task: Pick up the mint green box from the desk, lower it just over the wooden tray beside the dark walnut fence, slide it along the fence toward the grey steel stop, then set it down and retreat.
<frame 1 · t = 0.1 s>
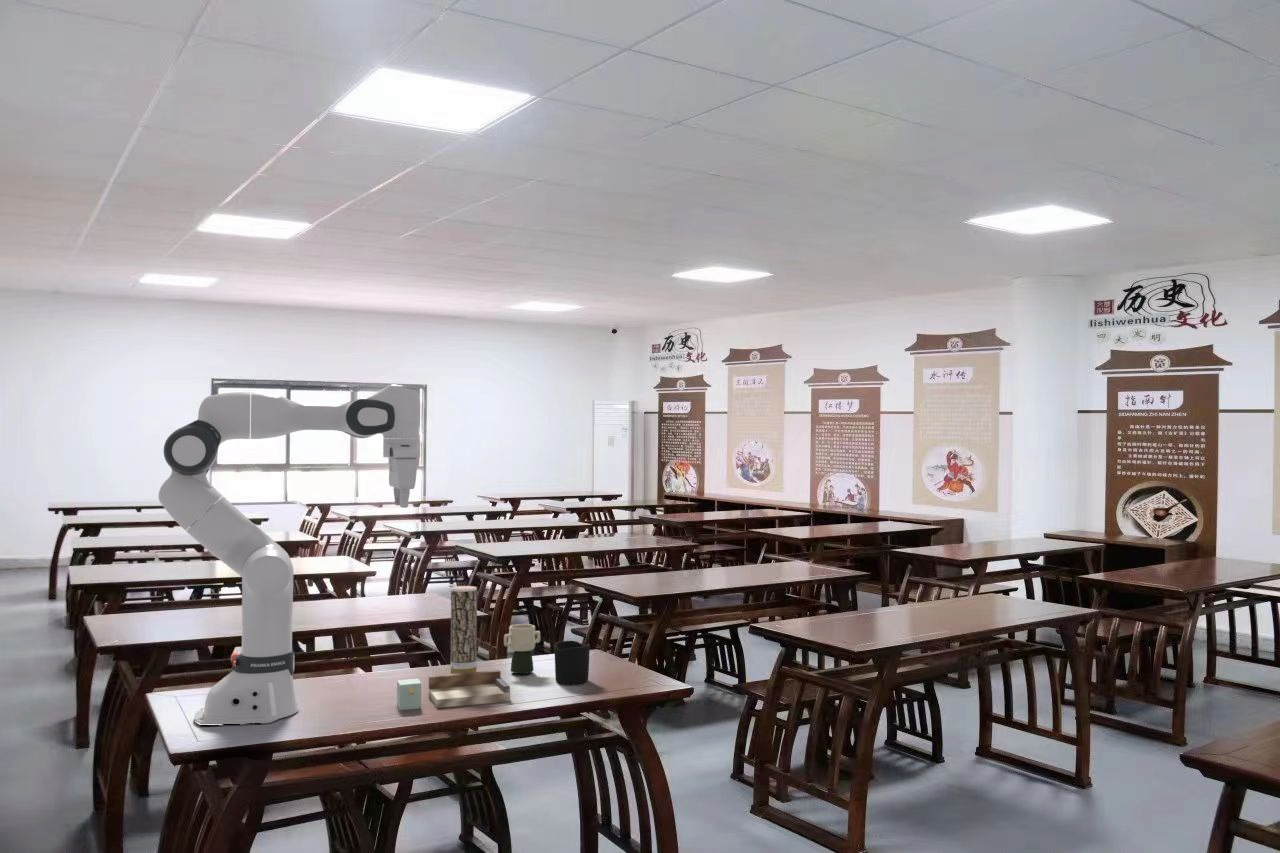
hand: (401, 506, 239), 48 cm above the table, fingers open, 8 cm apart
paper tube: (463, 682, 257), on the table
pen holder: (571, 682, 258), on the table
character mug: (522, 674, 267), on the table
mint green box: (408, 706, 233), on the table
wooden tray: (469, 698, 240), on the table
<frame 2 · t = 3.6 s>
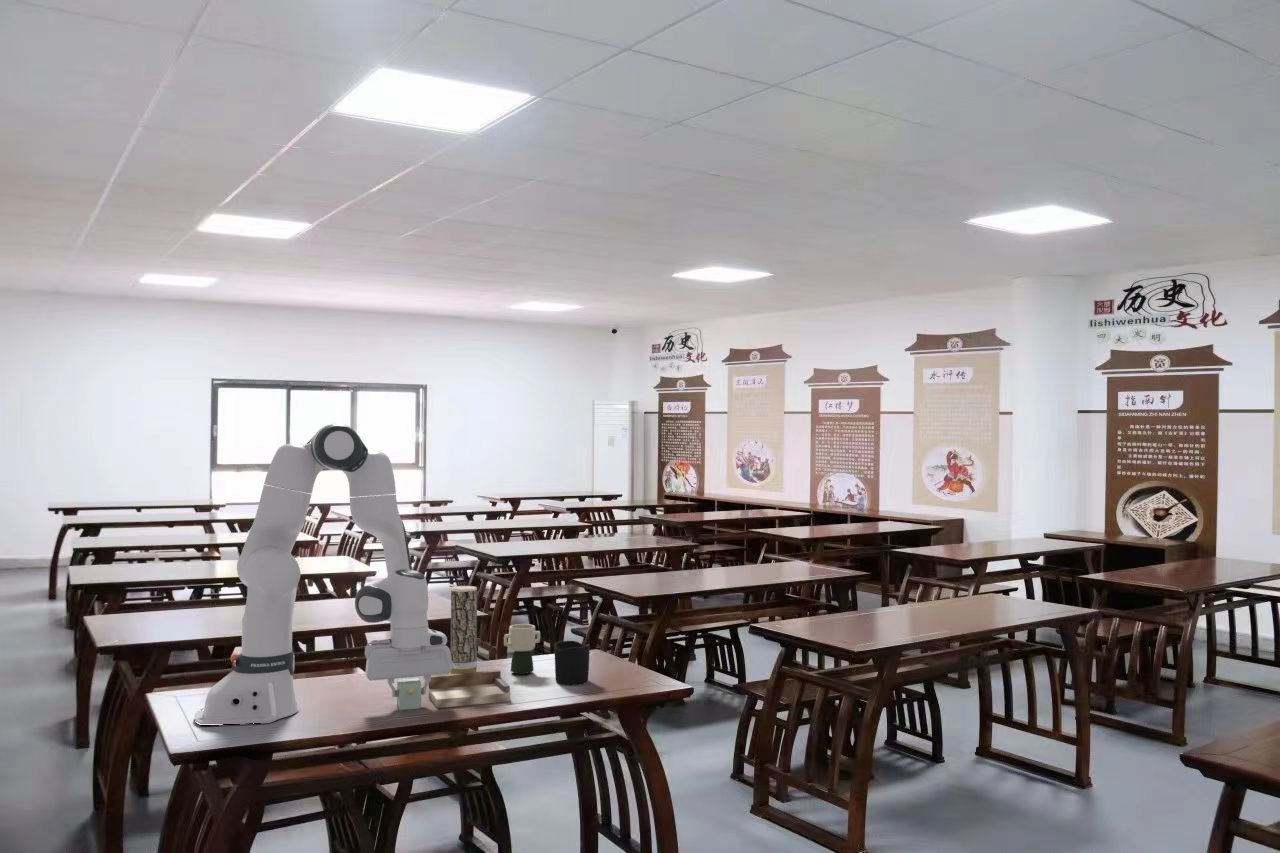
hand: (409, 695, 233), 3 cm above the table, fingers closed on mint green box, 5 cm apart
mint green box: (408, 706, 233), on the table, touching gripper
everything else where it was.
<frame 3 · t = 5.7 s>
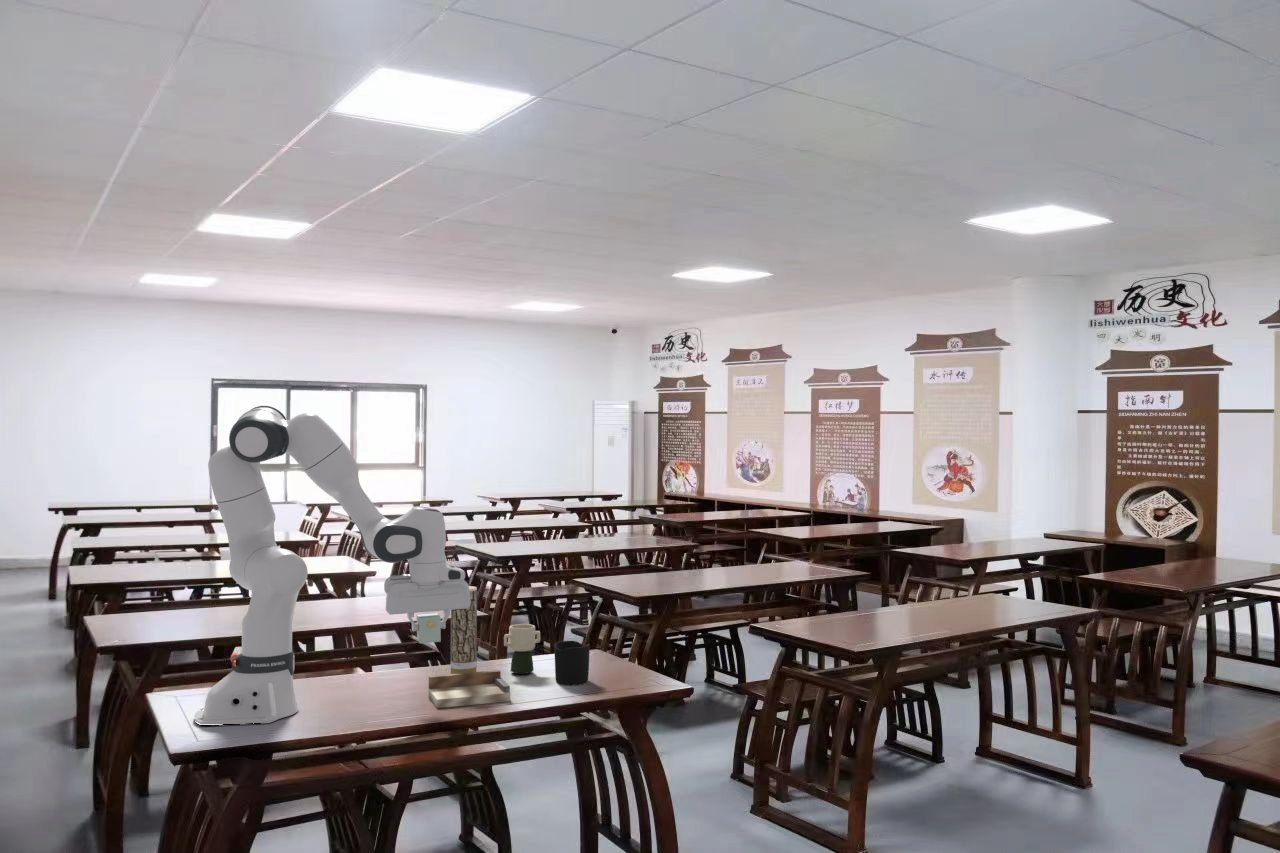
hand: (428, 629, 236), 18 cm above the table, fingers closed on mint green box, 5 cm apart
mint green box: (428, 640, 236), point 15 cm above the table, touching gripper
everything else where it was.
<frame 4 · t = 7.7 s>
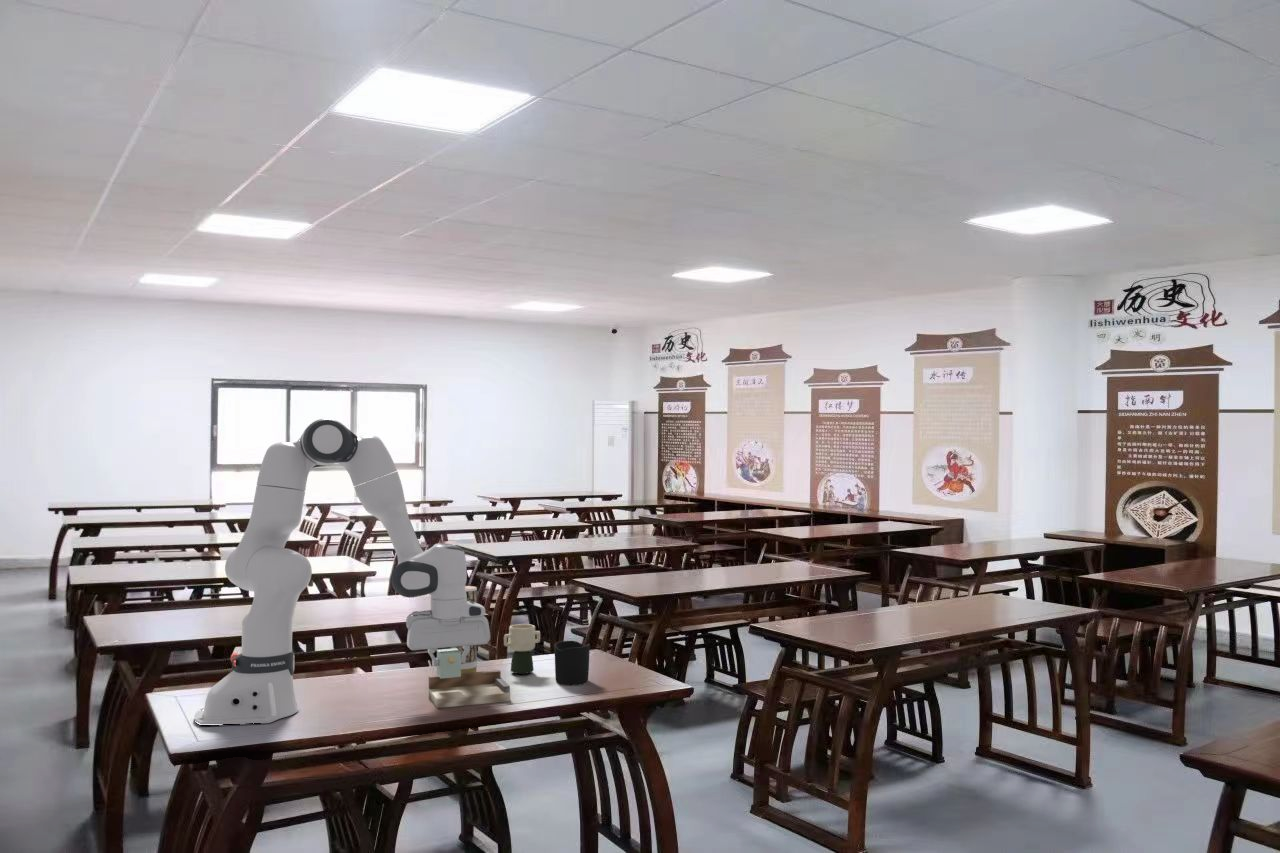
hand: (448, 664, 240), 8 cm above the table, fingers closed on mint green box, 5 cm apart
mint green box: (448, 675, 240), point 6 cm above the table, touching gripper
everything else where it was.
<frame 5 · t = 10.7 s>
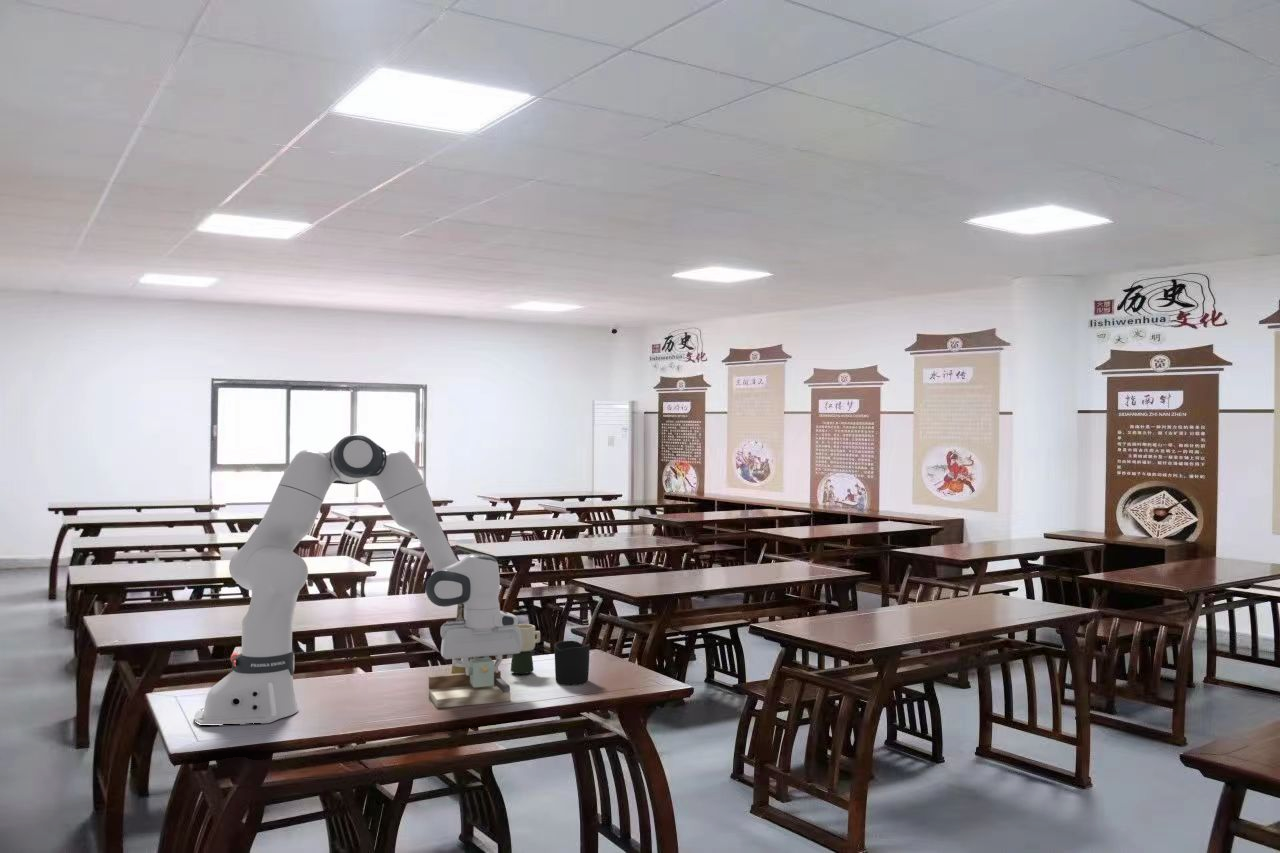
hand: (481, 673, 243), 6 cm above the table, fingers closed on mint green box, 5 cm apart
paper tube: (463, 681, 257), on the table, touching arm
mint green box: (481, 684, 243), point 3 cm above the table, touching gripper
everything else where it was.
when the fingers open (5 cm above the table, at t = 11.9 s): mint green box stays where it is, resting on wooden tray.
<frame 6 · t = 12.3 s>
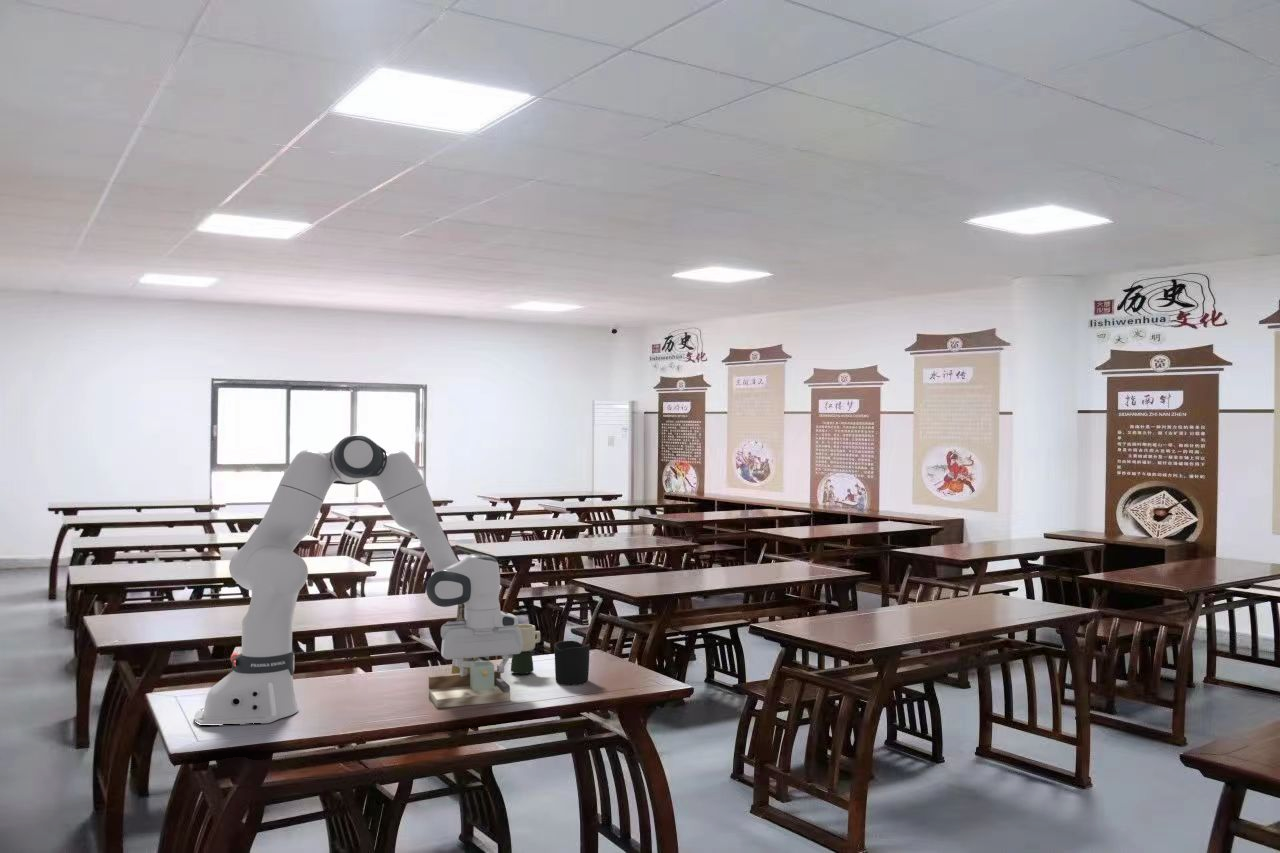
hand: (482, 674, 243), 5 cm above the table, fingers open, 8 cm apart
mint green box: (482, 687, 243), point 2 cm above the table, touching wooden tray
everything else where it was.
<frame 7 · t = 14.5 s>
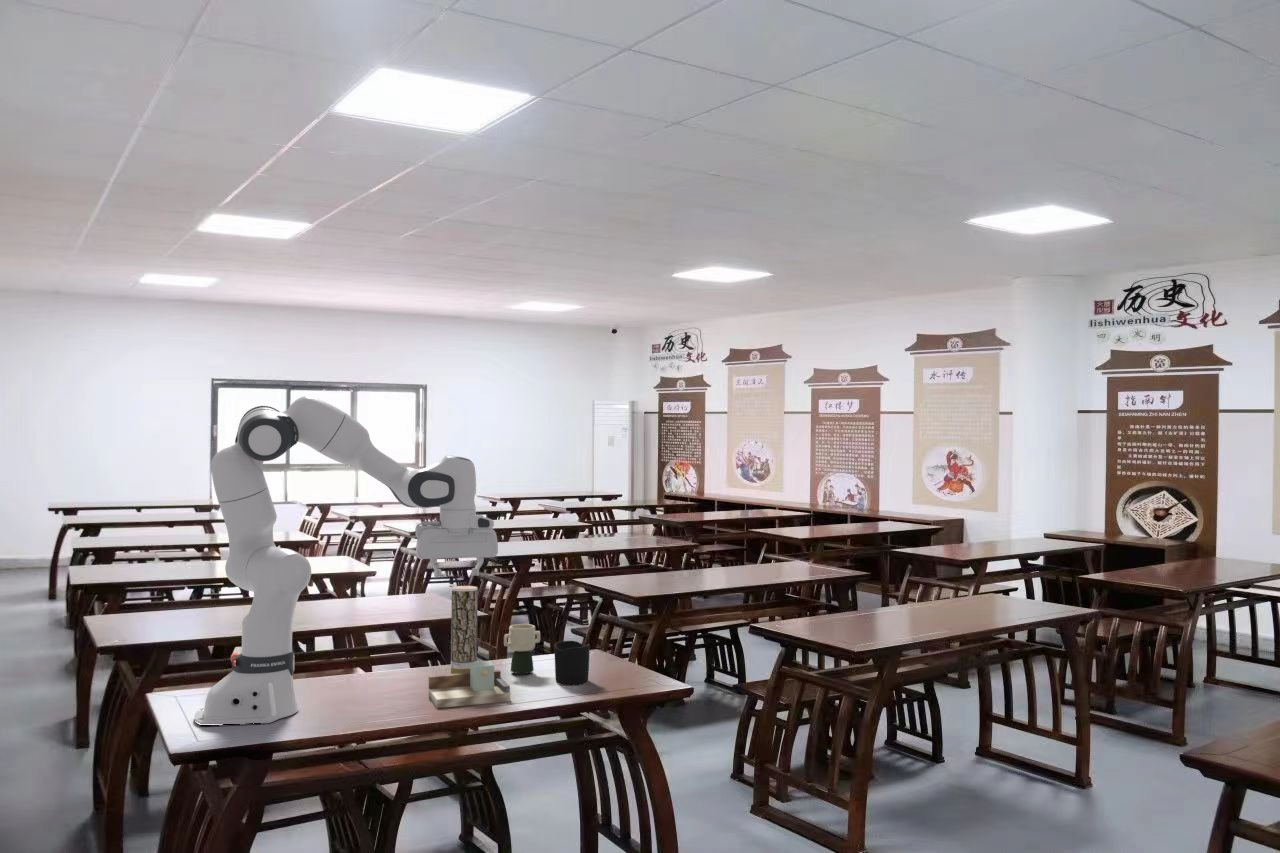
hand: (456, 576, 242), 30 cm above the table, fingers open, 8 cm apart
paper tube: (463, 682, 257), on the table
everything else where it was.
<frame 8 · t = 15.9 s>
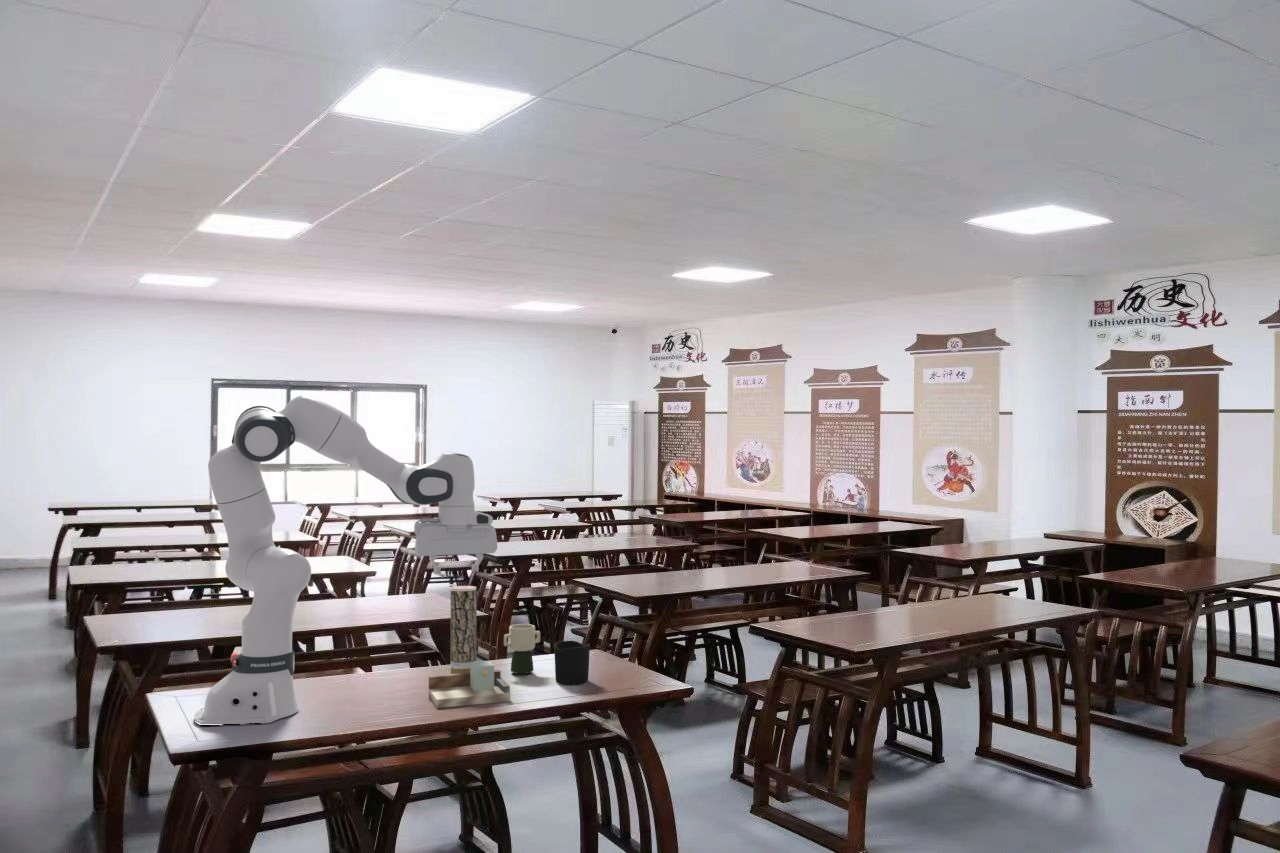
hand: (456, 572, 242), 31 cm above the table, fingers open, 8 cm apart
nothing on the table moved.
at the end: mint green box 0.1 cm from the target spot on the wooden tray, point 2.0 cm above the wooden tray's base; mint green box tilted 0°; the gripper is holding nothing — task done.
